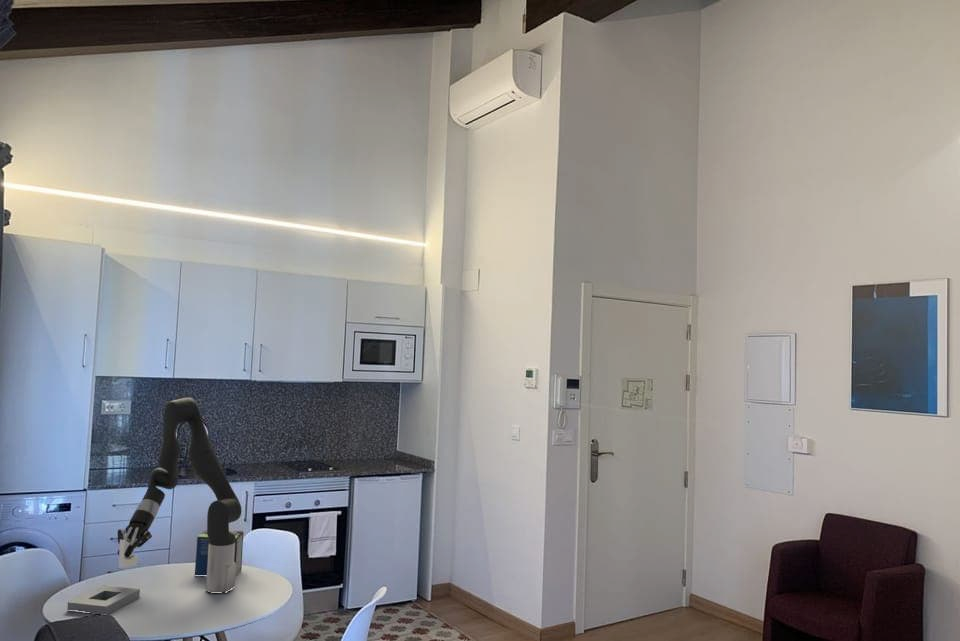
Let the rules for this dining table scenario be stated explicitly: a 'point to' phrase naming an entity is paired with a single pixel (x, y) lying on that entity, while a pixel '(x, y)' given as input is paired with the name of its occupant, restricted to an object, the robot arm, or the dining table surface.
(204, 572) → the protein box
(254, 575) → the dining table surface
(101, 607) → the socket plate
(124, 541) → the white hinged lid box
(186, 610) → the dining table surface
